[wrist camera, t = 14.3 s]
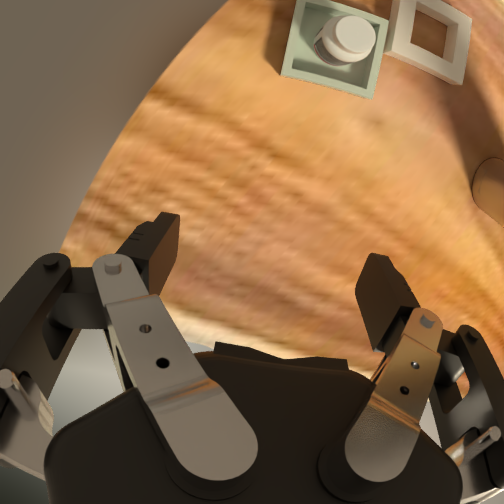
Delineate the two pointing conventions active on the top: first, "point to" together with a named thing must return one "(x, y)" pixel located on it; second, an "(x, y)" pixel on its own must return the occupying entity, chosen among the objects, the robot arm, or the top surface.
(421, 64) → the socket block
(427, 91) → the top surface
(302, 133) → the top surface
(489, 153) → the top surface
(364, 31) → the pill bottle
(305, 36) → the parts tray
